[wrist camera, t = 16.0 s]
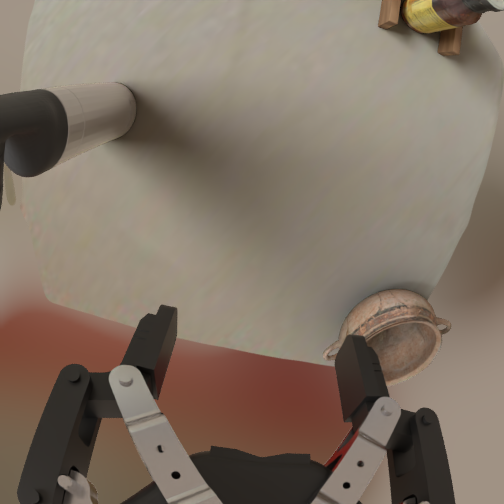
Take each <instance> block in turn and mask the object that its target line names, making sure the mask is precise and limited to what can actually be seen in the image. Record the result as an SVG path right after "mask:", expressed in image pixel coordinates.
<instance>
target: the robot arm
mask: <svg viewBox="0 0 504 504" xmlns="http://www.w3.org/2000/svg"><path fill="white" fill-rule="evenodd" d="M135 116H136V102H135V98H134V96H133V94H132V93H131V91H130V90H129V89H128V88H127V87H126V86H124V85H122V84H120V83H115V82H112V83H89V84H77V85H67V86H58V87H51V88H44V89H37V90H31V91H23V92H15V93H9V94H3V95H0V209H1V204H2V194H3V167H4V162H5V164H6V165H7V166H8V167H9V169H10V170H11V171H13V172H14V173H15V174H17V175H19V176H22V177H34V176H37V175H39V174H42V173H43V172H45V171H47V170H49V169H51V168H53V167H55V166H57V165H59V164H61V163H63V162H65V161H67V160H69V159H71V158H73V157H75V156H77V155H79V154H82V153H84V152H86V151H88V150H90V149H93V148H95V147H97V146H100V145H102V144H104V143H107V142H109V141H111V140H114V139H116V138H119V137H121V136H122V135H124V134H125V133H126V132H127V131H128V130H129V129H130V128H131V126H132V124H133V122H134V120H135ZM176 336H177V308H175V307H171V306H166V305H161V306H160V307H159V310H158V312H157V314H156V315H153V314H149V313H148V314H147V315H146V316H145V317H143V318H142V319H141V320H140V322H139V324H138V327H137V329H136V331H135V333H134V335H133V338H132V340H131V342H130V344H129V347H128V349H127V351H126V354H125V356H124V358H123V361H122V363H121V364H120V365H119V366H117V367H116V368H114V369H113V370H112V371H110V372H105V373H90V372H88V370H87V369H86V368H85V367H84V366H82V365H79V364H71V365H68V366H66V367H64V368H63V369H62V370H61V372H60V374H59V376H58V378H57V380H56V383H55V385H54V387H53V390H52V392H51V394H50V397H49V399H48V402H47V404H46V406H45V409H44V412H43V414H42V417H41V419H40V422H39V424H38V427H37V430H36V433H35V435H34V438H33V441H32V444H31V447H30V450H29V453H28V456H27V459H26V462H25V465H24V469H23V472H22V475H21V479H20V482H19V486H18V491H17V494H18V499H19V502H20V503H21V504H98V493H97V490H96V488H95V486H94V485H93V484H92V483H91V482H90V481H89V480H87V479H86V477H87V472H88V468H89V464H90V460H91V456H92V452H93V449H94V444H95V441H96V437H97V434H98V430H99V427H100V423H101V420H102V418H123V420H124V422H125V425H126V427H127V429H128V431H129V434H130V436H131V438H132V440H133V442H134V444H135V446H136V448H137V450H138V453H139V455H140V457H141V459H142V461H143V463H144V464H145V466H146V468H147V470H148V472H149V474H150V476H151V477H152V479H153V482H151V483H150V484H149V485H147V486H146V487H144V488H143V489H141V490H140V491H139V492H137V493H136V494H134V495H133V496H131V497H130V498H128V499H127V500H125V501H124V502H122V503H121V504H362V503H361V502H360V501H359V498H360V497H361V495H362V494H363V492H364V491H365V489H366V488H367V485H368V484H369V483H370V481H371V479H372V478H373V476H374V474H375V472H376V471H377V469H378V467H379V465H380V463H381V462H382V460H383V458H384V456H385V454H386V452H387V458H388V467H389V476H390V487H391V499H392V504H455V498H454V492H453V485H452V480H451V474H450V469H449V464H448V459H447V454H446V449H445V445H444V440H443V437H442V432H441V428H440V424H439V420H438V417H437V415H436V414H435V412H434V411H432V410H431V409H429V408H421V409H419V410H418V411H417V412H416V413H414V412H410V411H406V410H403V409H400V406H399V404H398V403H397V402H396V401H395V400H394V399H392V398H390V397H389V394H388V389H387V386H386V382H385V379H384V375H383V372H382V368H381V365H380V362H379V358H378V355H377V354H376V352H375V351H374V350H373V348H372V347H367V343H366V340H365V337H364V336H362V335H352V334H349V335H347V337H346V338H345V340H344V342H343V344H342V346H341V348H340V349H339V351H338V353H337V355H336V359H335V369H336V374H337V381H338V386H339V393H340V400H341V406H342V413H343V420H344V422H352V426H353V427H352V428H351V429H350V430H349V432H348V434H347V435H346V436H345V438H344V439H343V441H342V442H341V444H340V445H339V447H338V448H337V450H336V451H335V452H334V454H333V455H332V456H331V457H330V459H329V460H328V461H327V462H326V463H325V464H324V465H322V464H320V463H318V462H316V461H313V460H310V454H290V453H289V454H288V453H287V454H281V455H275V456H269V457H258V456H255V455H252V454H249V453H246V452H243V451H240V450H237V449H230V448H223V447H216V446H211V450H210V451H204V452H199V453H195V454H192V455H190V456H188V454H187V453H186V451H185V450H184V448H183V446H182V445H181V443H180V441H179V440H178V438H177V436H176V434H175V433H174V431H173V429H172V428H171V426H170V424H169V422H168V420H167V419H166V417H165V416H164V414H163V413H161V412H160V410H159V408H158V407H157V405H156V403H155V401H154V399H157V400H158V398H159V395H160V392H161V388H162V385H163V381H164V378H165V374H166V371H167V368H168V364H169V361H170V358H171V355H172V351H173V348H174V345H175V341H176Z"/></svg>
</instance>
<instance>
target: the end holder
mask: <svg viewBox="0 0 504 504" xmlns="http://www.w3.org/2000/svg"><path fill="white" fill-rule="evenodd" d="M400 3H401V0H382V4H381V11H380V17H379V23H378V27H381V28H383V29H388V28H390V27H392V26H394V25H397V24H398V17H399V10H400ZM462 28H463V26H462V27H457V28H452V29H447V30H442V31H441V33H440V40H439V47H438V53H439V54H441V55H443V56H449V55H459V53H460V45H461V37H462Z"/></svg>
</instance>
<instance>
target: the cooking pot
mask: <svg viewBox="0 0 504 504" xmlns="http://www.w3.org/2000/svg"><path fill="white" fill-rule="evenodd" d="M439 324H444V325H446V326H447V327H446V329H443V330H439V329H438V328H437V325H439ZM450 329H451V323H450V322H449V321H447V320H445V319H441V318H437V317H436V316H435V313H434V310H433V308H432V306H431V305H430V304H429V303H428V301H427V300H426V299H425V298H423V297H422V296H420V295H419V294H417V293H415V292H412V291H409V290H404V289H391V290H385V291H381V292H378V293H376V294H373V295H371V296H369V297H368V298H366V299H364V300H363V301H361V302H360V303H359V304H357V305H356V306H355V307H354V308H353V309H352V310H351V312H350V313H349V314H348V316H347V317H346V319H345V321H344V322H343V324H342V327H341V330H340V334H339V340H338V341H336V342H335V343H333V344H332V345H330V346H329V347H328V348H327V349H326V350H325V351H324V353H323V358H324V359H325V360H328V361H330V360H335V359H336V355H337V354H335V355H332V356H328V354H329V353H330V352H331V351H332V350H333V349H335V348H339V349H340V348H341V346H342V344H343V342H344V340H345V338H346V337H347V335H349V334H352V335H362V336H364V337H365V340H366V343H367V347H372V348H373V350H374V351H375V352H376V354H377V355H378V358H379V362H380V365H381V368H382V372H383V375H384V379H385V382H386V386H392V385H395V384H399V383H401V382H404V381H406V380H408V379H410V378H412V377H414V376H415V375H417V374H419V373H420V372H421V371H423V370H424V369H425V368H426V367H427V366H428V365H429V364H430V363H431V362H432V361H433V360H434V358H435V357H436V356H437V354H438V352H439V350H440V348H441V343H442V334H445V333H447V332H448V331H449V330H450Z"/></svg>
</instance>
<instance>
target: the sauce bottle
mask: <svg viewBox="0 0 504 504" xmlns="http://www.w3.org/2000/svg"><path fill="white" fill-rule="evenodd" d="M503 10H504V0H405V1H404V3H403V4H402V6H401V13H402V17H403V19H404V21H405V22H406V24H407V25H408V26H409V27H411V28H412V29H413V30H414V31H416V32H420V33H433V32H437V31H442V30H447V29H452V28H457V27H462V26H465V25H470V24H473V23H476V22H477V21H478V20H479V19H480V17H481V15H482V13H485V12H487V11H494V12H498V11H503Z"/></svg>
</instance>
